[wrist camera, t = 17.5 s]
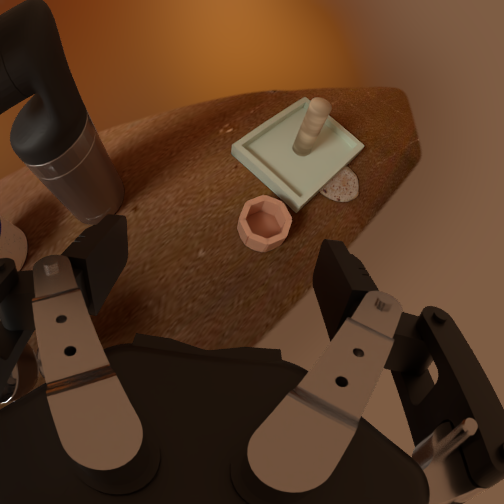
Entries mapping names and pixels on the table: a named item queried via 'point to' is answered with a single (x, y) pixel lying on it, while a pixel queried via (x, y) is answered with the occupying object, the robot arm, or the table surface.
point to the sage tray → (295, 155)
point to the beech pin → (311, 126)
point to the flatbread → (342, 186)
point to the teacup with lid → (12, 243)
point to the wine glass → (23, 375)
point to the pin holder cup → (264, 223)
